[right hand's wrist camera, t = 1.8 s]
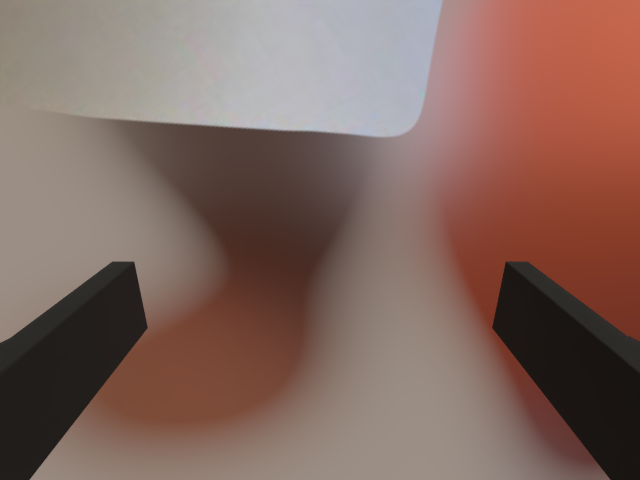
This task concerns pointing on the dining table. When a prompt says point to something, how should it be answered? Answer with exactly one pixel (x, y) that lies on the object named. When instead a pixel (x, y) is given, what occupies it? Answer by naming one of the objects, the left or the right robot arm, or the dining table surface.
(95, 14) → the dining table surface
